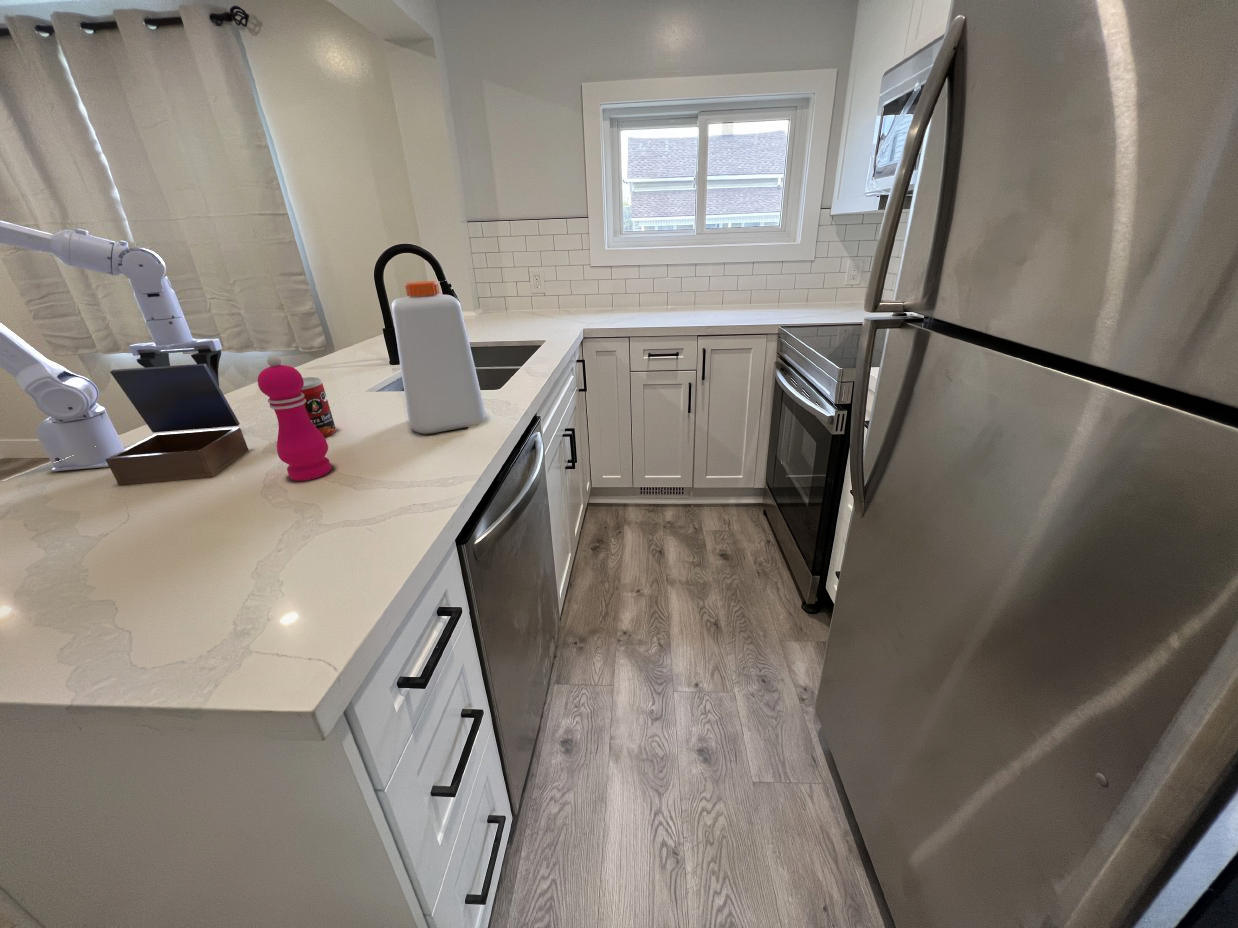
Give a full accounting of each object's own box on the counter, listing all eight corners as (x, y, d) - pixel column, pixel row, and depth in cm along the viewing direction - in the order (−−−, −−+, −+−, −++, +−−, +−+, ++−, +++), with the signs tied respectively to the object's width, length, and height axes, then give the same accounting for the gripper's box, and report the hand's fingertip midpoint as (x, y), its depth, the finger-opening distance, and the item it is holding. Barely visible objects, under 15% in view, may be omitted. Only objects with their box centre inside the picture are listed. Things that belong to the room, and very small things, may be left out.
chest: (212, 476, 85) (201, 451, 83) (118, 485, 83) (105, 459, 81) (249, 450, 95) (240, 427, 93) (165, 457, 93) (154, 433, 91)
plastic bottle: (408, 416, 110) (377, 282, 98) (477, 405, 115) (456, 277, 104) (413, 438, 97) (379, 288, 86) (490, 425, 103) (468, 281, 91)
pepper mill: (313, 483, 81) (272, 361, 72) (276, 481, 82) (231, 361, 74) (344, 465, 87) (310, 350, 79) (309, 463, 88) (271, 350, 80)
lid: (203, 365, 85) (216, 353, 88) (109, 371, 83) (126, 359, 87) (238, 426, 93) (249, 413, 96) (152, 432, 91) (166, 419, 94)
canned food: (304, 444, 97) (286, 390, 92) (287, 436, 101) (269, 384, 97) (344, 432, 102) (328, 380, 98) (326, 425, 107) (310, 375, 102)
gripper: (104, 324, 88) (138, 398, 93) (193, 319, 89) (221, 392, 95) (133, 318, 94) (164, 387, 100) (216, 313, 96) (241, 382, 101)
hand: (193, 389), depth 98 cm, fingers open, 7 cm apart
